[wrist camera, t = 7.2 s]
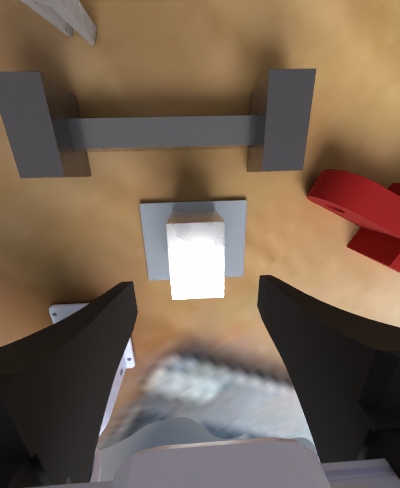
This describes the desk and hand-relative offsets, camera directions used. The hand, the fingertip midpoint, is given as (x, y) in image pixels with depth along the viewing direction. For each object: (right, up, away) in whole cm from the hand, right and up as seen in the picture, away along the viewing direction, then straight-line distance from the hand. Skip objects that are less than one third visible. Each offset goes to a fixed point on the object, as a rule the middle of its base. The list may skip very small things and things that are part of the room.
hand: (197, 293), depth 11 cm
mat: (0, +3, +9) cm, 9 cm away
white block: (0, +3, +8) cm, 9 cm away
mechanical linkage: (+17, +6, +9) cm, 20 cm away
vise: (-3, +12, +6) cm, 13 cm away
